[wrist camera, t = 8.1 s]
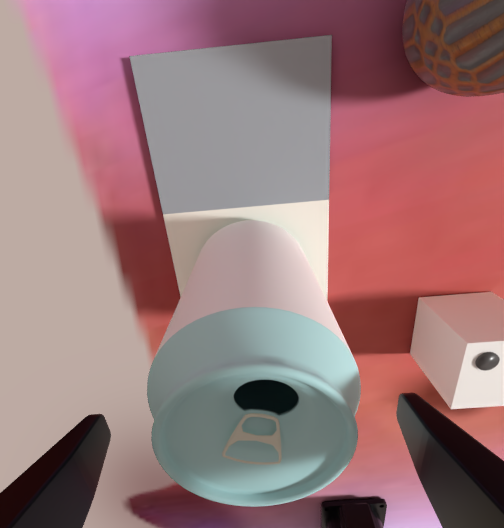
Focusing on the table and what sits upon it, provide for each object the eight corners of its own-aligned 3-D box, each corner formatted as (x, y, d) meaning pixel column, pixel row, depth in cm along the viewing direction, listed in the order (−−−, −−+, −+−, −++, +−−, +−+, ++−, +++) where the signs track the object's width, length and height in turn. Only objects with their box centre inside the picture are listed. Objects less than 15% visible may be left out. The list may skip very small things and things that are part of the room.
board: (323, 456, 27) (324, 461, 27) (217, 463, 27) (216, 467, 27) (329, 37, 15) (331, 34, 14) (132, 58, 15) (129, 56, 14)
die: (476, 349, 22) (537, 405, 18) (409, 353, 22) (452, 411, 18) (491, 291, 20) (564, 338, 16) (418, 297, 20) (469, 345, 16)
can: (177, 246, 18) (70, 408, 7) (279, 197, 17) (332, 304, 6) (229, 329, 21) (206, 541, 10) (321, 291, 20) (410, 485, 9)
